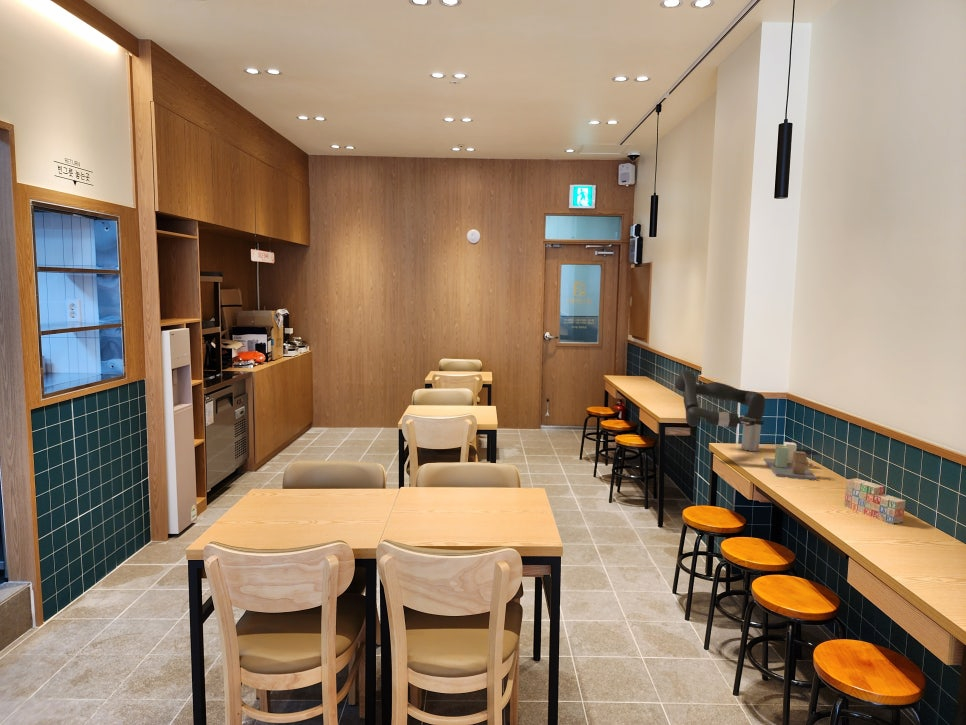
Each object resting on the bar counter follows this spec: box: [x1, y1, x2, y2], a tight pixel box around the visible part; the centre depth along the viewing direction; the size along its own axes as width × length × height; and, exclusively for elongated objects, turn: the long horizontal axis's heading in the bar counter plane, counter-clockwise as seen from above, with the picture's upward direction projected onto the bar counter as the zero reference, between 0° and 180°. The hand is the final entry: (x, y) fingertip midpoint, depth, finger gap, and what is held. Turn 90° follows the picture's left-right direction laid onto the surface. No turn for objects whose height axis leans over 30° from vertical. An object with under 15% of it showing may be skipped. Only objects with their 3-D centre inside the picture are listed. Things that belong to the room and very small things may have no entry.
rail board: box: [763, 457, 817, 481], centre depth 326 cm, size 31×18×2 cm, turn 167°
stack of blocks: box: [843, 477, 907, 525], centre depth 262 cm, size 21×6×12 cm, turn 24°
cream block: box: [783, 441, 798, 464], centre depth 335 cm, size 5×5×10 cm
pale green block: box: [774, 444, 789, 468], centre depth 326 cm, size 5×5×10 cm
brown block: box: [791, 450, 808, 474], centre depth 315 cm, size 5×5×10 cm
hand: (763, 422), depth 327 cm, fingers closed
